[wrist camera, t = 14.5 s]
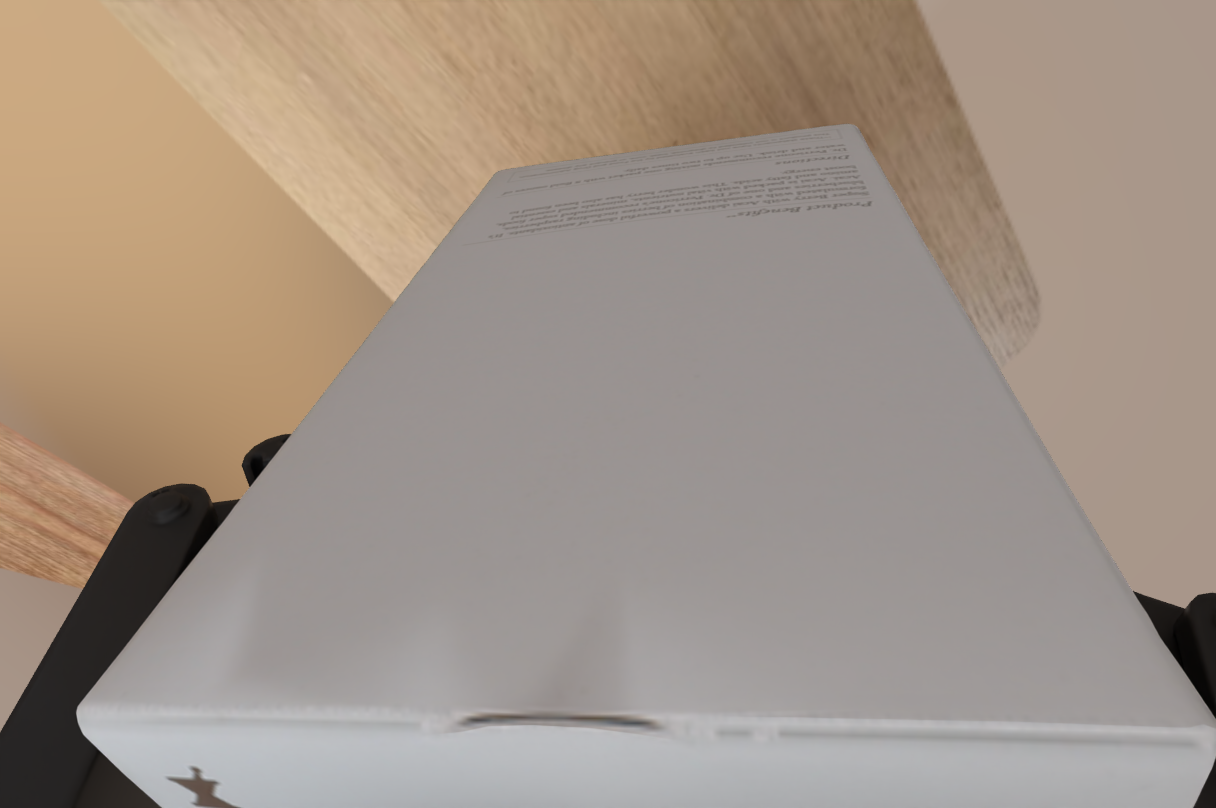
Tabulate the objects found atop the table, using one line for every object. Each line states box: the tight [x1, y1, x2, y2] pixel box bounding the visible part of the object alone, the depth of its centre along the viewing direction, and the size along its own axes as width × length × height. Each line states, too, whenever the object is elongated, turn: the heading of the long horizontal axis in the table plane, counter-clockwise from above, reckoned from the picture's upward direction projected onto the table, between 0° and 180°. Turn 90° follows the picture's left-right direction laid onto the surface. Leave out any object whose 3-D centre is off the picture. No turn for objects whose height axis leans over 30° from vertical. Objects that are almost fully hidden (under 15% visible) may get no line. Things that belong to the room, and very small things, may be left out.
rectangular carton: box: [76, 124, 1216, 808], centre depth 14 cm, size 9×9×15 cm
